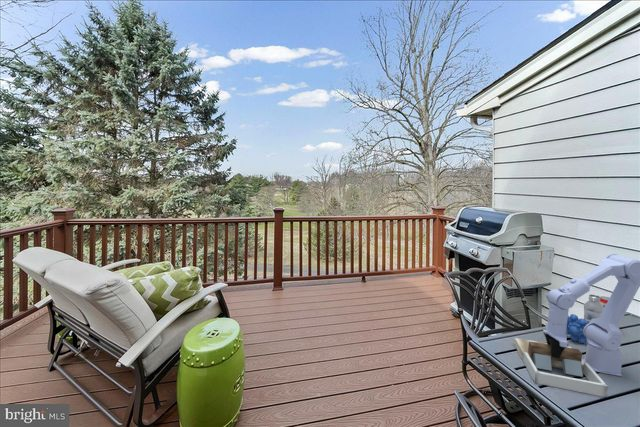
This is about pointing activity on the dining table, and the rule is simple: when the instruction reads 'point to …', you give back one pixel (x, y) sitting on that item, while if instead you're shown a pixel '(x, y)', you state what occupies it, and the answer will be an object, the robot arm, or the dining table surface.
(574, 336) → the grapes
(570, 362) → the near tile
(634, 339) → the dining table surface
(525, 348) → the birch plate
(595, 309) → the plastic bottle
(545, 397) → the dining table surface
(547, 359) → the far tile
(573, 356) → the scraper bar
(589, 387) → the box
